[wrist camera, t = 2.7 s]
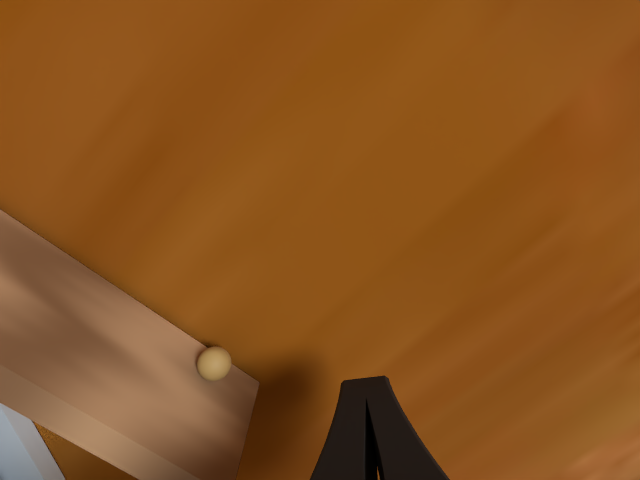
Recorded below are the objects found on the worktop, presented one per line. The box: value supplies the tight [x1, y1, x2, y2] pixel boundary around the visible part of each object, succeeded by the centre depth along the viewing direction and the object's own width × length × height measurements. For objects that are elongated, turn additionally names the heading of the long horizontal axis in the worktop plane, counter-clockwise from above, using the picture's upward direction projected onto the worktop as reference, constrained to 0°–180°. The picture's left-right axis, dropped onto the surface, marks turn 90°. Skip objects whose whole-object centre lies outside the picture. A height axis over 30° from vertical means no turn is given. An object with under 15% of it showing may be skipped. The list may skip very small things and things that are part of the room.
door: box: [0, 210, 260, 480], centre depth 12 cm, size 15×2×5 cm, turn 50°
